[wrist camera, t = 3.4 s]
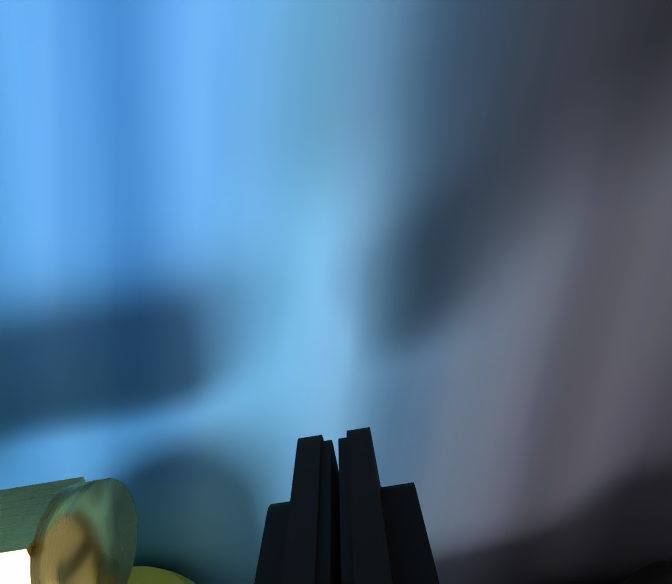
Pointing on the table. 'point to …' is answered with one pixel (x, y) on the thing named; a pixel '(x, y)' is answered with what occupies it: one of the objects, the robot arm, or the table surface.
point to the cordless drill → (655, 580)
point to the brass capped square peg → (67, 533)
